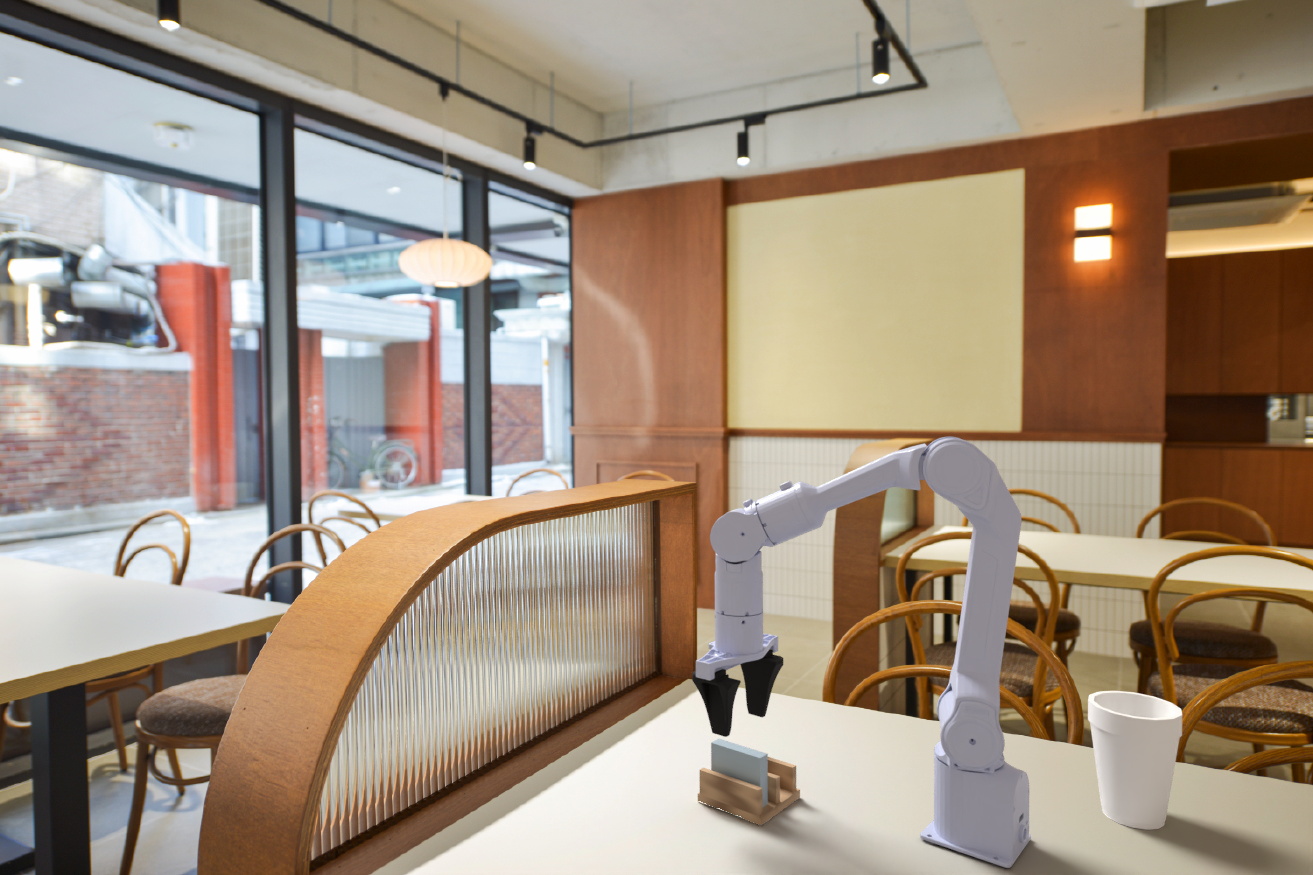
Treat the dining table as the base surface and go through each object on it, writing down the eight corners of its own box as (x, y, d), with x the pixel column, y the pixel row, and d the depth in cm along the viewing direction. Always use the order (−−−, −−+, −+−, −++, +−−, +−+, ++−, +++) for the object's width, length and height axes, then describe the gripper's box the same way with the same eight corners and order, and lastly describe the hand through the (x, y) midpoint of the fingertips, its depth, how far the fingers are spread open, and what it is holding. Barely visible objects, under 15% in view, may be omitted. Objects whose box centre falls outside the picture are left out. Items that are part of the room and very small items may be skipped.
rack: (800, 797, 98) (800, 764, 98) (760, 825, 91) (760, 790, 91) (738, 776, 104) (738, 745, 104) (697, 801, 97) (697, 768, 97)
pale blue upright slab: (767, 804, 94) (767, 753, 94) (760, 809, 93) (760, 758, 93) (719, 786, 99) (718, 738, 99) (711, 791, 97) (711, 742, 97)
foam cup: (1068, 804, 96) (1069, 696, 96) (1125, 791, 99) (1126, 686, 99) (1141, 843, 87) (1142, 724, 87) (1201, 827, 90) (1202, 713, 90)
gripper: (744, 595, 103) (745, 699, 104) (674, 617, 92) (675, 734, 93) (792, 603, 99) (792, 712, 99) (724, 627, 88) (725, 750, 88)
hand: (739, 724), depth 96 cm, fingers open, 7 cm apart
